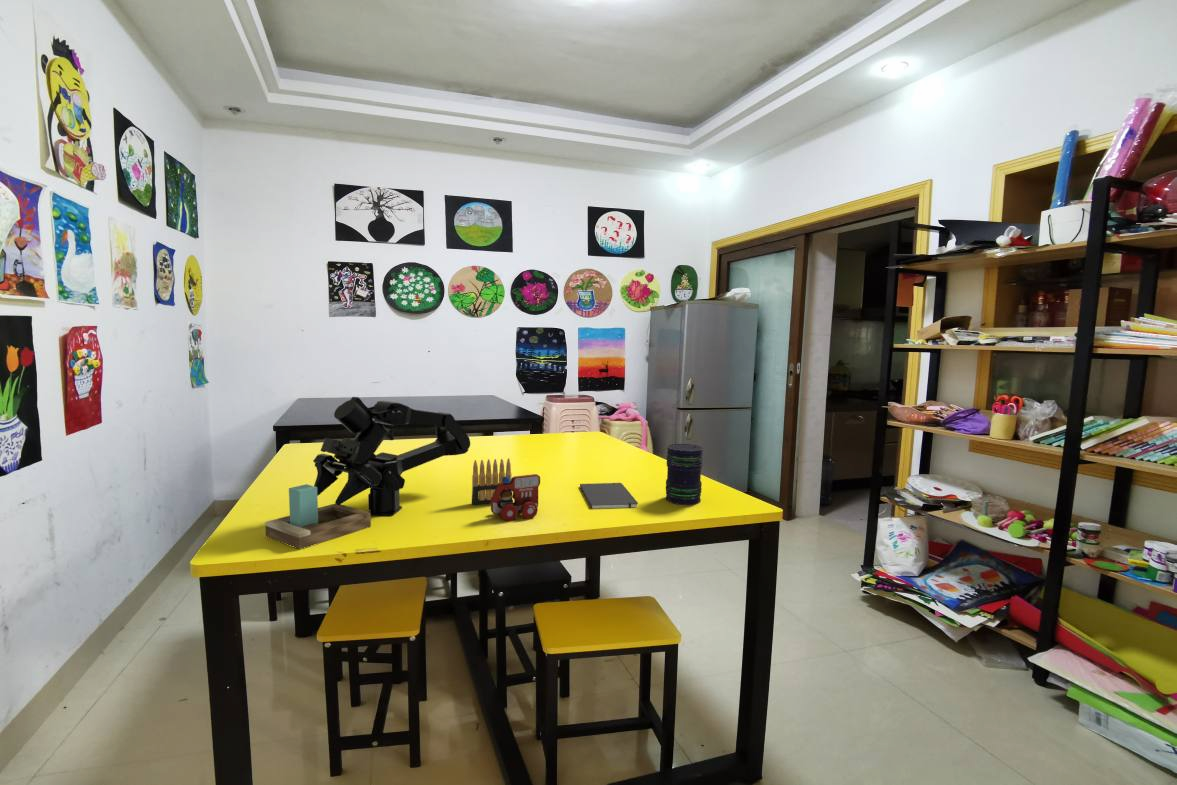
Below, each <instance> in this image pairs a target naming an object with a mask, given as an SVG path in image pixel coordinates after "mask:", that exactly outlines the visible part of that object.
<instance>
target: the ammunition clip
mask: <svg viewBox="0 0 1177 785" xmlns="http://www.w3.org/2000/svg"><path fill="white" fill-rule="evenodd" d="M499 462H500V463H499V469H498V461H497V459H496V458H494V461H493V464H492V465H491V460H490V459H487V462H486V469H485V462H484V460H483V459H481V460H480V464H479V467H478V462H477V460H476V459H475V460H474V462H473V467H472V478H471V481H472V482H471V483H472V484H471V485H472V486H471V487H472V488H471V506H485V505H491V498H492V496H493V494H494V492H495V490H496V488H497V486H498V484H500V483H502V479H503V478H504V477H505V476H508V477H509V478H510V480H511V479H512V477H513V476H512V467H511V466H512V464H511V459H510V458H507V460H506V467H505V462H504V460H503V458H501V459H500V461H499ZM505 468H506V469H505ZM478 469H479V470H478ZM498 470H499V472H498ZM509 490H511V489H509ZM511 492H512V493H513V491H512V490H511ZM500 498H501V497H500ZM511 499H513V498H511Z"/></svg>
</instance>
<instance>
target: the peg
mask: <svg viewBox="0 0 1177 785" xmlns="http://www.w3.org/2000/svg"><path fill="white" fill-rule="evenodd" d="M318 499H319V498H318V496H317V487H315V486H314V485H311V484H308V483H307V484H303V485H297V486H293V487H292V486H291V487H289V488H288V502H289V503H288V504H289V516H290V524H292V525H295V526H298V527H302V526H306V525H309V524H313V523H318V508H319V507H318V506H319V504H318V503H319V502H318Z"/></svg>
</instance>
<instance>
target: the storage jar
mask: <svg viewBox="0 0 1177 785" xmlns="http://www.w3.org/2000/svg"><path fill="white" fill-rule="evenodd" d="M703 460H704V457H703V447H702V446H700V445H696V444H690V443H672V444H669V445H667V454H666V467H667V476H666V477H667V478H666V480H665V501H666V502H668V503H671V504H675V505H678V506H693V505H698V504H700V503H701V500H702V499H701V495H702V484H703V483H702V481H701V480H702V479H701V477H702V476H701V475H702V468H703Z"/></svg>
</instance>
